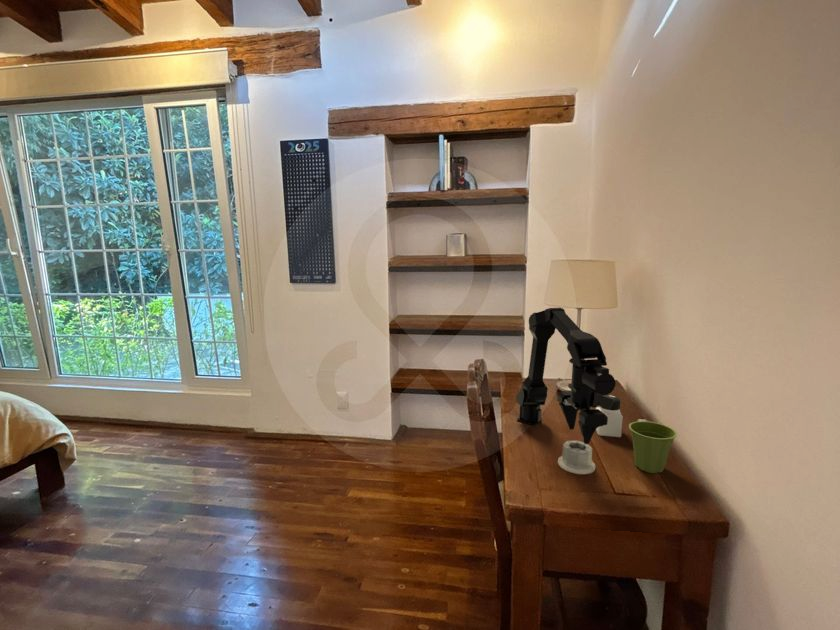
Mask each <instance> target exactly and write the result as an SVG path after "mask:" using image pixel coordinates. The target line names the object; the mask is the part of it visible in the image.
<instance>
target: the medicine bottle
mask: <svg viewBox="0 0 840 630" xmlns="http://www.w3.org/2000/svg"><path fill="white" fill-rule="evenodd" d="M609 396H610V397H612V398H613V399H614V401H613V404H612V406H611V408H610V410H608V409H606V408H604V407H601V406H597V408H595V409H599V410H600V411H601V412H603V413H604V414H605V415H606V416H607V417H608V423H607V425H603V426H599V427H598V428H597V429H596V430H595V431H596V433H597V435H598V436H603V437H613V438H621V437H622V435H623V434H622V433H623V421H624V416H623V415H622V413H621V411H620V409H621V408H620V407H621V400H620V398H618V397H617V396H614V395H609Z"/></svg>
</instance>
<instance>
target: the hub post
mask: <svg viewBox="0 0 840 630" xmlns="http://www.w3.org/2000/svg"><path fill="white" fill-rule="evenodd" d="M573 449H575V450H581V449H579V448H573ZM557 465H558V466H559V467H560V468H561V469H562V470H563V471H566V472H568V473H571V474H575V475H590V474H592V473H594V472H595V470H596V464H595V463H594V461H593V460H592V461H591V466H590V467H589V468H588V469H584V470H576V469H573V468H570V467H567V466H566V465H565V464H564V463H563V462H562V455H561V456H559V457H558V459H557Z"/></svg>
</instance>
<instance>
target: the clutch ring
mask: <svg viewBox="0 0 840 630" xmlns="http://www.w3.org/2000/svg"><path fill="white" fill-rule="evenodd" d="M573 448H579V449H581V450H575V449H573ZM561 456H562V462H563V463H564V464H565V465H566V466H567V467H570V468H573V469H576V470H584V469H588V468H589V467H590V466H591V461H593V447H591V445H589V444H584V441H580V440H566V441H565V442H564V443H563V444H562V455H561Z"/></svg>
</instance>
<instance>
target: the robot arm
mask: <svg viewBox="0 0 840 630" xmlns="http://www.w3.org/2000/svg"><path fill="white" fill-rule="evenodd" d="M528 330H529V331H530V333H531V336H532V343H531V344H532V345H531V352H530V360H529V368H528V375H527V377H526V378H525V379H524V380H523V382H522V384H521V389H520V390H519V391H518V392H517V394H516V395H515V399H516V404H518V405H519V417H518V418H516V420H517V421H518V422H521V423H524V424H527V425H531V426H536V424H538V423H539V422H541V421H542V409H541V406H544V405H545V404H546V400H547V398H548V388H549V387H548V386H546V385H547V384H546V383H545V381H544V373H545V366H546V359H547V353H548V352H547V351H548V347H549V346H548V344H549V340H550V339H551V338H552V336H553V335H555V332H556V330H557V332H558V333H560V336H562V337H563V339H564V340H565V341H566V343H567V344H566V345H567V346H566V349H567V351H568V352H569V355H570V357H571V358H570V359H569V360H568V361H569V363H571V364H572V368H571V382H570V383H568V384H567V386H568V387H567V388H569V389H570V390H565V391H562V390H561V391H559V392H558V393H557V395H556V401H557V402H558V405H559V406H560V409H561V411H562V414H563V416H564V418H565V421H566V423H567V426H568V429H569V430H570V431H572V430H575V425H576V420H577V414H578V418H579V419H578V426H579V429H580V433H581V438H582V442H584V444H588V445H589V443H590V442H591V441H592V437H593V435H594V434H595V431H596V429H597V428H598V427H599V426H603V425H607V423H608V417H607V416H606V415H605V414H604V413H603V412H601V411H600V410H599V409H596V408H597V407H600V406H601V407H604V408H606V409H608V410H610V408H611V406H612V404H613V401H614V399H613V398H612V397H610V396H611V395H610V394H611V393H612V392H613V391H614V390H615V387H616V384H617V383H616V380H615V378H614V375H612V374H611V373H610V369H609V368H608V367H605V366H607V365H608V363H607V361H606V360H607V357H606V355H605V353H604V350H603V347H602V344H601V342H600V340H599V339H598V338H597V337H596V336H594V335H593V334H592V333H589V332H586V331H583V330H582V329H580V328H579V326H578V325H577V324H576V323H575V322H574V321H573V320H572V319H571V318H570V316H569V315H568V314H567V313H566V310H565V309H564V308H562V307H548V308H546V309H544V310H542V311H541V310H540V311H538V312H533V313H532V314H530V316H529V318H528ZM591 408H595V409H591ZM578 411H579V413H578Z"/></svg>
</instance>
